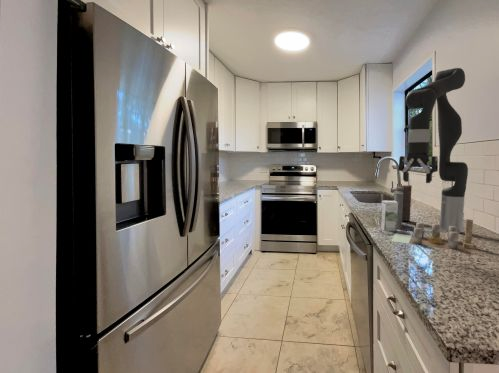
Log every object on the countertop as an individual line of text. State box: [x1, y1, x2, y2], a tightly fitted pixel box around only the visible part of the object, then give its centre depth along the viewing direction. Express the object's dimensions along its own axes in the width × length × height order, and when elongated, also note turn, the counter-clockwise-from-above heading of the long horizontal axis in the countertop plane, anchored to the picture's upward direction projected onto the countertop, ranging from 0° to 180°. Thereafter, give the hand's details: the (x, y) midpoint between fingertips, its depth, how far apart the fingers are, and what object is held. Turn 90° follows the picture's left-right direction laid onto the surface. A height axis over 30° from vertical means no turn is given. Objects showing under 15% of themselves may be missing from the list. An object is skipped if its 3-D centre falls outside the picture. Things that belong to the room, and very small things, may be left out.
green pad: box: [390, 233, 412, 245], centre depth 138 cm, size 6×16×1 cm, turn 149°
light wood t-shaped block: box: [462, 218, 474, 249], centre depth 125 cm, size 3×7×10 cm, turn 149°
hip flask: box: [393, 186, 404, 230], centre depth 167 cm, size 16×4×20 cm, turn 159°
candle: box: [397, 184, 412, 222], centre depth 180 cm, size 8×7×20 cm
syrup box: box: [380, 200, 398, 232], centre depth 156 cm, size 6×6×14 cm
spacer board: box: [408, 222, 478, 253], centre depth 130 cm, size 22×16×7 cm
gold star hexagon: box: [428, 235, 443, 244], centre depth 131 cm, size 5×4×2 cm
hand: (416, 182), depth 130 cm, fingers open, 8 cm apart
